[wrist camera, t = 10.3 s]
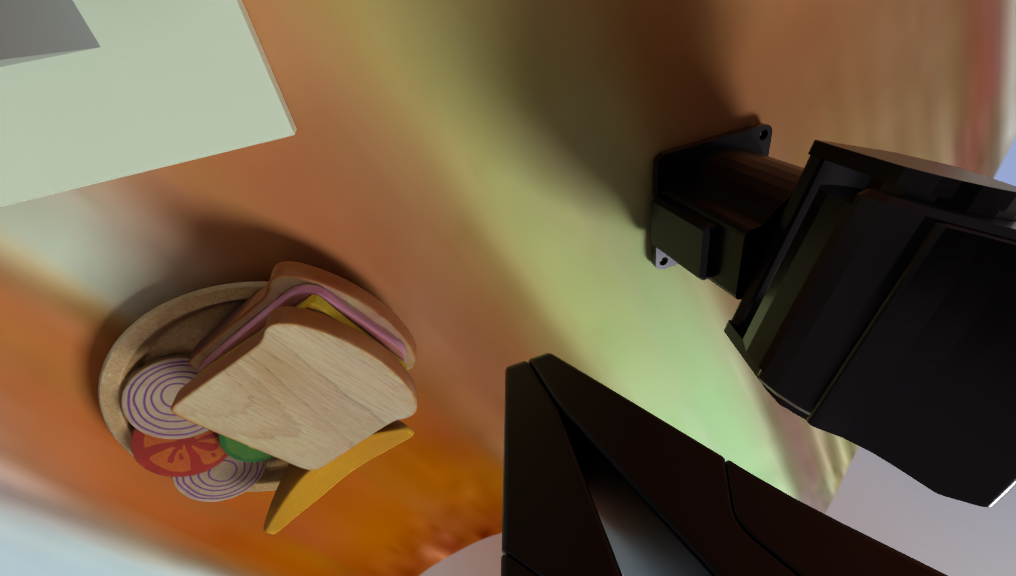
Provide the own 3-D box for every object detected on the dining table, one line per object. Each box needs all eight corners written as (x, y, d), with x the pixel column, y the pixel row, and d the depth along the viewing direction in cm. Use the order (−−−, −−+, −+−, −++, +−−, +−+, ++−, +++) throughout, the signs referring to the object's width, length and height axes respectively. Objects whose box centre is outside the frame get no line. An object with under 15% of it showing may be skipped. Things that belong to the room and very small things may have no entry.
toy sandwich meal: (28, 381, 18) (-56, 480, 14) (307, 199, 18) (298, 249, 14) (264, 503, 25) (251, 591, 21) (464, 375, 25) (486, 440, 21)
